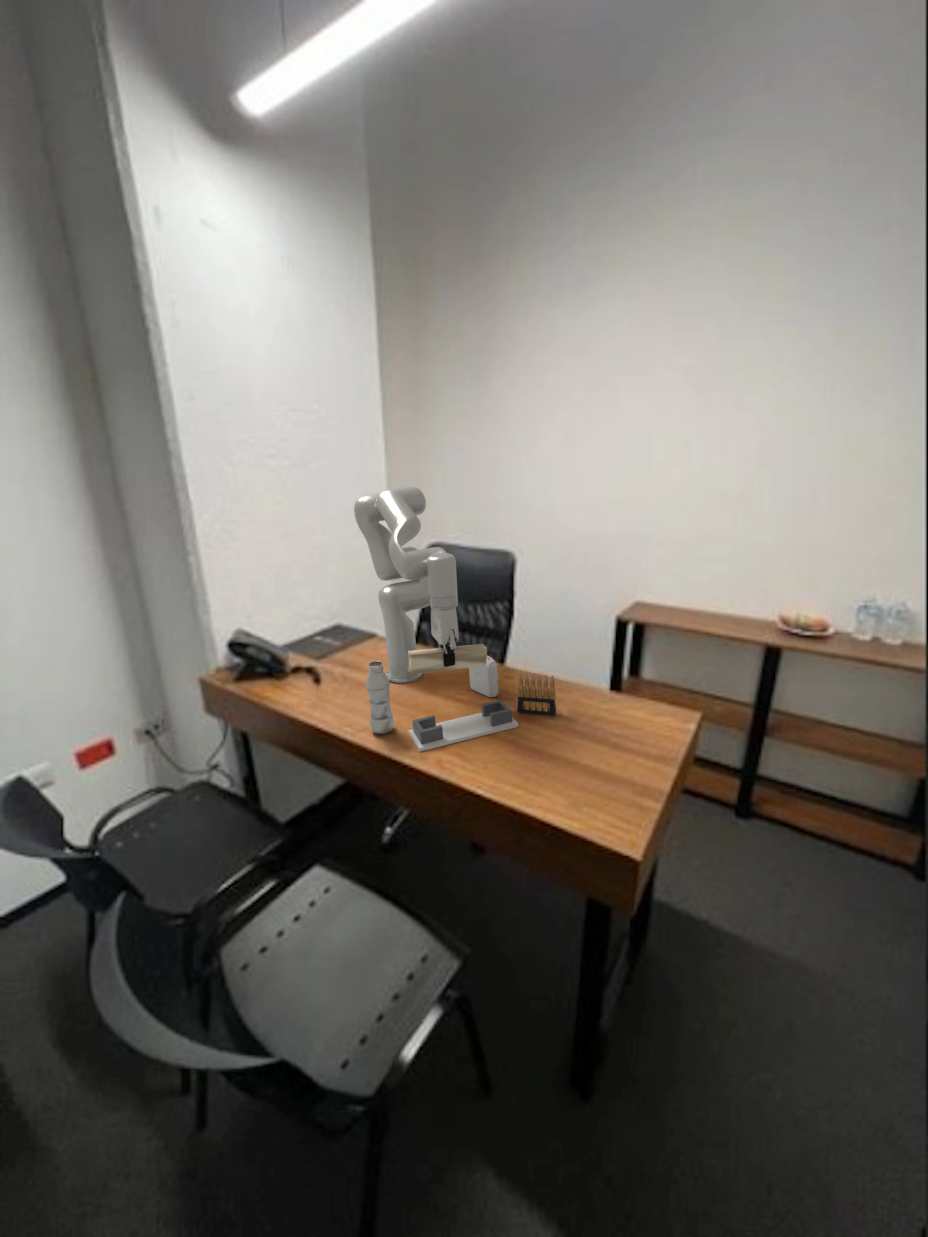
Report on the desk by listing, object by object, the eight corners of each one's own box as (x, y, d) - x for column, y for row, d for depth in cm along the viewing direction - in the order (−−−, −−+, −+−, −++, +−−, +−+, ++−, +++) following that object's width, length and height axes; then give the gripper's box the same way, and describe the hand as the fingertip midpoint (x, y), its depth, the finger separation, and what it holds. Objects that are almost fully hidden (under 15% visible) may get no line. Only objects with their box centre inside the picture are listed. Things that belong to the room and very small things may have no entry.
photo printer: (467, 688, 177) (465, 652, 173) (478, 684, 179) (476, 648, 175) (490, 699, 169) (488, 661, 165) (500, 694, 172) (499, 657, 168)
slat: (407, 669, 154) (407, 651, 153) (481, 661, 162) (482, 643, 161) (410, 674, 152) (411, 655, 150) (485, 665, 160) (487, 647, 158)
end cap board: (408, 733, 153) (407, 718, 152) (502, 710, 162) (502, 696, 161) (419, 751, 144) (418, 736, 143) (518, 726, 153) (518, 711, 152)
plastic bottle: (389, 722, 159) (382, 656, 153) (398, 732, 154) (391, 665, 147) (367, 729, 156) (359, 662, 150) (376, 739, 151) (368, 671, 144)
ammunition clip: (517, 712, 161) (516, 674, 157) (518, 709, 162) (517, 671, 158) (555, 716, 158) (555, 677, 154) (556, 713, 159) (556, 674, 155)
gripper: (421, 594, 156) (425, 655, 163) (440, 611, 142) (444, 677, 148) (446, 590, 159) (450, 650, 165) (468, 606, 144) (471, 672, 151)
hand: (447, 662), depth 157 cm, fingers closed on slat, 2 cm apart
